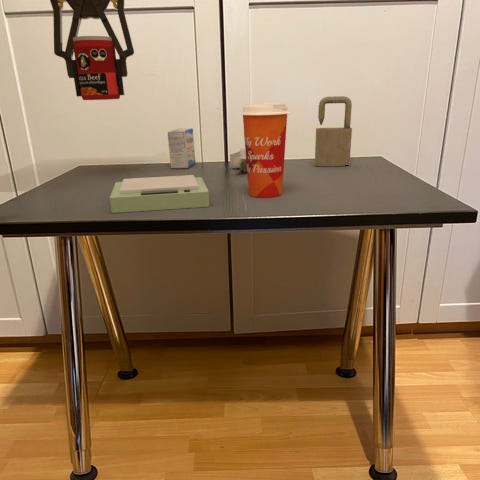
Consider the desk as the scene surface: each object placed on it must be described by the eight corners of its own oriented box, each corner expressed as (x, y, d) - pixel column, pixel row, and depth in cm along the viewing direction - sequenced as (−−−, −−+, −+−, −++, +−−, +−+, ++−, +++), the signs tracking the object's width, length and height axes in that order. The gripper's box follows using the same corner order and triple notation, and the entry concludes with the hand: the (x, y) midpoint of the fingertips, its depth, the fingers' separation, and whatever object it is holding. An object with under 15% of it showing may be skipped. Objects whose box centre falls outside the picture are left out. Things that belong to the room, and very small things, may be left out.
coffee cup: (236, 197, 86) (233, 105, 79) (252, 188, 92) (250, 103, 86) (281, 200, 83) (281, 105, 76) (294, 190, 90) (296, 102, 83)
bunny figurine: (268, 147, 117) (273, 147, 103) (268, 169, 119) (273, 172, 105) (229, 148, 117) (229, 148, 103) (230, 170, 119) (229, 173, 105)
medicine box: (188, 168, 117) (185, 130, 113) (170, 169, 117) (167, 131, 114) (195, 163, 124) (193, 127, 120) (179, 164, 124) (176, 128, 121)
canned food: (73, 100, 97) (63, 37, 92) (99, 99, 104) (91, 40, 99) (103, 99, 94) (95, 34, 89) (128, 98, 101) (121, 37, 96)
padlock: (314, 164, 118) (317, 96, 111) (348, 163, 116) (353, 95, 110) (314, 166, 114) (317, 97, 107) (349, 166, 113) (354, 96, 106)
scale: (111, 213, 78) (108, 193, 77) (117, 195, 90) (115, 178, 89) (209, 206, 80) (208, 187, 79) (202, 190, 92) (201, 174, 91)
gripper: (139, -36, 93) (151, 94, 103) (27, -37, 90) (51, 96, 100) (139, -45, 87) (152, 94, 97) (18, -47, 84) (45, 97, 94)
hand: (101, 95), depth 99 cm, fingers closed on canned food, 8 cm apart
